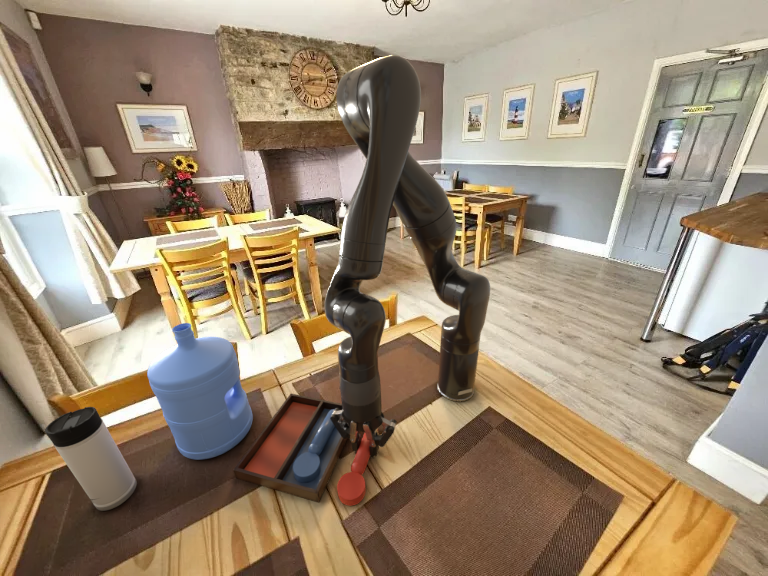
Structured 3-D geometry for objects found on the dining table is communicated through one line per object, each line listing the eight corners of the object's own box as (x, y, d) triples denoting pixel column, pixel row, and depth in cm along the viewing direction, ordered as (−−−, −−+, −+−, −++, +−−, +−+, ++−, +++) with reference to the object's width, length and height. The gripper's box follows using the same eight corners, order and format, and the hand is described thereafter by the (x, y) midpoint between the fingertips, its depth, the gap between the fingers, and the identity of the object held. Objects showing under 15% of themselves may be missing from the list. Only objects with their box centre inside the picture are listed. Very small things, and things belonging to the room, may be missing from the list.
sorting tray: (292, 401, 79) (290, 393, 78) (358, 414, 75) (357, 406, 74) (236, 478, 61) (233, 469, 60) (318, 502, 56) (317, 493, 55)
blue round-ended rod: (326, 413, 74) (325, 404, 73) (346, 417, 73) (345, 408, 72) (289, 479, 60) (286, 469, 59) (313, 485, 59) (311, 476, 57)
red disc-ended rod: (363, 427, 71) (362, 418, 70) (385, 432, 70) (384, 423, 68) (333, 501, 56) (331, 491, 55) (360, 509, 55) (359, 499, 54)
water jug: (187, 477, 62) (136, 363, 50) (172, 429, 72) (127, 326, 61) (264, 432, 71) (236, 328, 59) (240, 395, 82) (213, 301, 70)
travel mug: (90, 520, 55) (34, 440, 46) (101, 487, 60) (52, 410, 52) (133, 502, 57) (87, 424, 49) (139, 472, 63) (99, 397, 54)
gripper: (401, 382, 59) (402, 444, 67) (334, 370, 63) (341, 431, 70) (392, 411, 53) (393, 477, 60) (317, 397, 56) (327, 461, 64)
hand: (365, 452), depth 65 cm, fingers closed on red disc-ended rod, 2 cm apart
